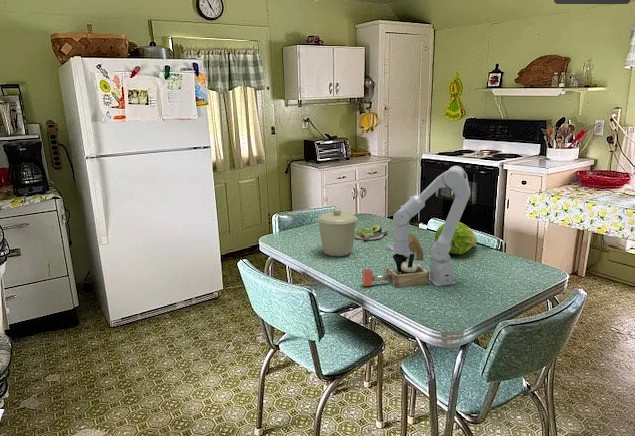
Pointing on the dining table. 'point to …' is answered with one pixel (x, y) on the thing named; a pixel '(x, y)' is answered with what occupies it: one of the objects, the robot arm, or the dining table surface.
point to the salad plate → (370, 233)
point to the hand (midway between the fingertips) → (400, 271)
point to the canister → (337, 232)
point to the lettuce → (460, 238)
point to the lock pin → (372, 277)
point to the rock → (415, 247)
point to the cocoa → (409, 266)
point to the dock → (409, 277)
